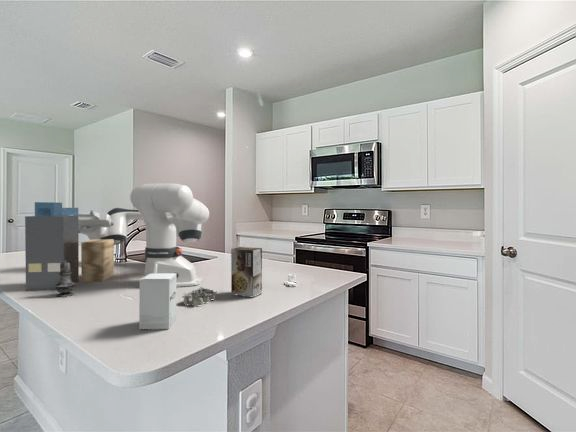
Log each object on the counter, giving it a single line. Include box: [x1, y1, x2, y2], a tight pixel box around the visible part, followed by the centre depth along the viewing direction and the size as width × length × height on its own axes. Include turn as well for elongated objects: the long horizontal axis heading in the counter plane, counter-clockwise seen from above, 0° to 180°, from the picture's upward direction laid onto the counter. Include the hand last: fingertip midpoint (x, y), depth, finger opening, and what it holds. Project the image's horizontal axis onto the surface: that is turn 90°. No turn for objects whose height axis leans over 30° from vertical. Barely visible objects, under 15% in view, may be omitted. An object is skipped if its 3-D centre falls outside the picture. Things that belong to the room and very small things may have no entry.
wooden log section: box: [80, 239, 115, 283], centre depth 135 cm, size 8×12×16 cm, turn 11°
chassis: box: [24, 215, 80, 292], centre depth 121 cm, size 12×12×26 cm
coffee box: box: [230, 246, 263, 297], centre depth 114 cm, size 9×6×16 cm
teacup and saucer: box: [286, 273, 297, 285], centre depth 130 cm, size 9×8×4 cm
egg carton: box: [181, 286, 218, 307], centre depth 105 cm, size 10×7×4 cm
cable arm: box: [34, 201, 79, 217], centre depth 126 cm, size 6×22×5 cm, turn 11°
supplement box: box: [138, 273, 177, 331], centre depth 84 cm, size 7×7×13 cm
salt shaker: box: [55, 260, 77, 298], centre depth 110 cm, size 6×6×12 cm
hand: (80, 211), depth 144 cm, fingers open, 8 cm apart
